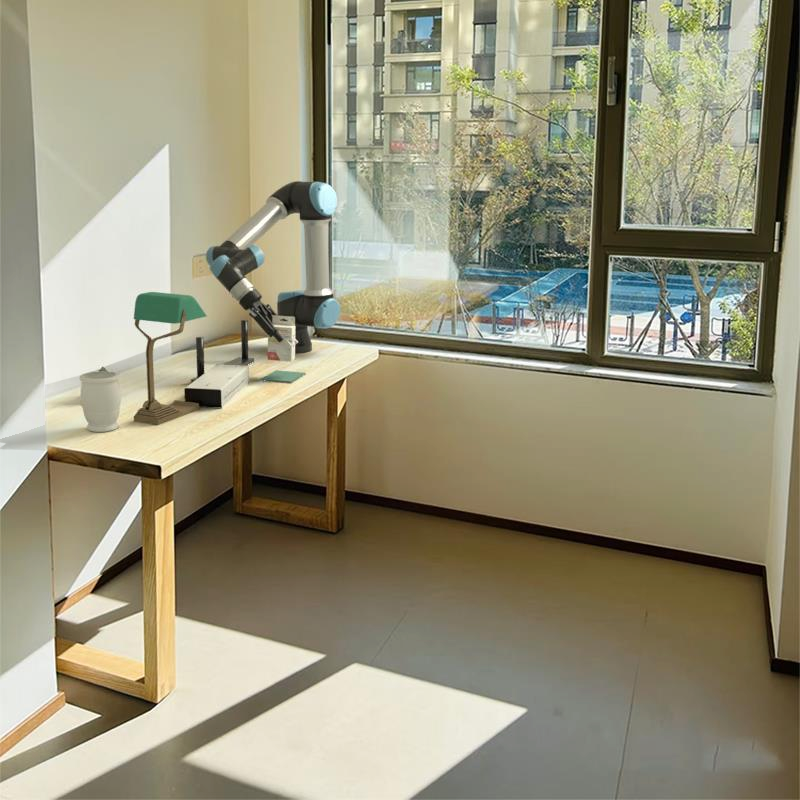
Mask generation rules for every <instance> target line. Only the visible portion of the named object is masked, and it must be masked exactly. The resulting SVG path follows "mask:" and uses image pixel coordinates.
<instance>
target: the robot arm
mask: <svg viewBox="0 0 800 800" xmlns="http://www.w3.org/2000/svg"><path fill="white" fill-rule="evenodd" d="M337 207H338V196H337V193H336V191H335V190H334V188H333V187H332V186H331V185H330V184H328V183H326V182H321V181H297V180H296V181H291V182H289V183H287V184H285V185H283V186H281V187H280V188H279V189H277V190H275V191H274V192H273V193H272V194H271V195H269V197H267V199H266V200H265V204H264V205H263V206H262V207H260V209H259V210H257V211H256V212H255V213H254V214H253V215H252V216H251V217H250V218H249V219H248V220H247V221H246V222H245V223H244V224H242V225H241V226H240V227H239V228H238V229H236V230H235V232H233V233H232V234H231V235H230V236H229V237H228V238H227V239H226V240H224V241H223V242H222V243H221V244H220V245H214V246H210V247H209V248H208V249H207V251H206V253H205V260H206V262H207V264H208V265H209V271H210V273H212V275H213V276H214V277H215V279H216V280H218V282H219V283H220V284H221V285H222V286H223V288H225V289H226V290H227V291H228V293H229V294H230V295H231V297H232V298H233V299H235V301H237V302H238V304H239V305H240V306H241V307H242V309H243V310H244V311H249V310H250V312H249V313H248V315H249V316H250V317H251V318H252V319H253V320H255V322H256V323H257V324H258V326H260V328H261V329H262V330H263V331H264V332H265V333H266V334H267V336H268V335H270V336H269V337H272V336H273V337H274V338H275V339H276V340H277V341H278V342H279V344H280V345H281V346H282V347H283V348H284V349H285V350H288V349H289V348H290V347H291V346H292V345H291V343H290V342H289V341H288V340H287V339H286V338H285V337H284V336H283V334H282V333H281V332H280V331H278V332H277V329H276V328H275V327H274V325H273V324H272V316H273V315H274V316H289V317H295V354H296V353H297V354H300V353H301V354H302V353H308V352H310V351H313V343H312V340H311V337H310V333H309V331H308V327H312V328H315V329H330V328H332V327H333V326H335V324H336V323H337V322H338V320H339V318H340V314H341V305H340V303H339V301H338V300H337V299H335V298H334V291H333V290H332V289H331V288H330V273H329V271H330V270H329V269H330V267H329V242H328V241H329V238H328V237H329V236H328V235H329V234H328V232H329V231H328V223H330V222H331V220H332V215H333V214H334V213H335V212H336V209H337ZM293 214H299V221H301V223H302V224H303V228H304V229H303V230H304V234H303V235H304V256H305V257H304V258H305V261H304V262H305V280H306V281H305V283H306V288H305V289H302V290H290V291H281V292H279V293H278V295H277V302H276V304H277V305H276V306H277V307H276V308H277V313H276V312H275V310H274V309H273V308H272V306H271V305H270V304H269V303H267V304H265V303H263V301H261V300H262V297H263V296H262V294H261V293H260V292H259V291H258V289H256V288H254V287H255V286H254V285H253V284H252V282H250V280H249V279H248V278H247V277H246V276H247V275H248V274H250V273H251V272H253V271H255V270H256V269H258V268H259V267H261V266H262V265H263V264H264V263H265V258H266V257H265V254H264V252H263V250H262V248H261V247H259V246H257V245H256V244H255V243H256V242H257V241H258V240H259V239H260V238H262V237H263V236H264V235H265V234H266V233H267V232H268V231H270V229H271V228H272V227H273V226H274V225H276V223H278V222H280V220H285V219H286V218H287V217H289V216H290V215H293ZM280 321H288V320H285V319H280Z"/></svg>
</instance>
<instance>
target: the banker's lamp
mask: <svg viewBox="0 0 800 800" xmlns="http://www.w3.org/2000/svg"><path fill="white" fill-rule="evenodd" d="M206 317H208V315H207V314H206V312H205V310H204V309H203V308H202V307H201V305H200V304H199V302H198V300H197V299H196V298H195V297H193V296H192V295H187V294H177V293H170V292H169V293H168V292H158V291H157V292H155V291H149V292H148V291H147V292H143V293H139V294H138V295H137V296H136V298H135V302H134V313H133V320H134V326H135V328H136V329H137V330H138V331H139V332H140V333H141V334H142V335H143V336H144V337H145V338H146V339H147V342H146V346H145V347H146V349H145V359H146V360H145V361H146V381H147V383H146V384H147V400H145V401H144V402H143V404H142V407H141V408H139V409H137V412H135V414H134V415H133V422H135V423H136V422H137V423H141V424H142V423H143V424H149V425H155V426H161V425H163V424H166V423H168V422H170V421H173V420H175V419H178V418H180V417H183V416H186V415H188V414H190V413H194V412H196V411H199V410H200V407H199V403H192V402H185V400H184V401H183V400H176V399H174V400H173V402H172V403H169V404H164V403H163V404H162V403H161V402H159V401H158V400H157V399H155V398H156V397H155V372H154V345H155V343H156V342H157V341H158V340H161V339H162V340H163V339H165V338H169V337H172V336H176V335H180V334H181V333H183V331H184V329H185V328H184V327H185V323H186V322H189V321H194V320H198V319H201V318H206ZM140 321H147V322H148V321H149V322H156V323H157V322H158V323H166V324H172V325H173V324H174V325H175V324H179V327H178V329H176V330H175V331H172V332H169V333H165V334H163V335H159V336H156V337H154V338H152V337H151V336H149V334H147V333H146V332H145V331H143V330H142V329H141V328H140V326H139V325H140ZM198 409H199V410H198Z"/></svg>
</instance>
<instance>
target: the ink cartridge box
mask: <svg viewBox="0 0 800 800" xmlns="http://www.w3.org/2000/svg"><path fill="white" fill-rule="evenodd" d="M280 319H285V320H288V321H280ZM272 324H273V325H274V327H275V328H276V329H277V332H278V331H280V332H281V333H282V334H283V336H284V337H285V338H286V339H287V340H288V341H289V342H290V343H291V345H292V346H291V347H290V348H289V349H288V350H285V349H284V348H283V347H282V346H281V345H280V344H279V342H278V341H277V340H276V339H275V338H274V337H273V336H272V337H269V336H270V335H267V361H279V362H292V361H294V360H295V359H296V353H295V317H289V316H274V315H273V316H272Z"/></svg>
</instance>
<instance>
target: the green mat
mask: <svg viewBox="0 0 800 800" xmlns="http://www.w3.org/2000/svg"><path fill="white" fill-rule="evenodd" d="M303 375H304V376H306V372H302V371H301V372H300V371H291V370H290V371H289V370H277V369H276V370H274V371H272V372H271V373H268V374H266V375H265V376H263V377H261V378H260V381H261V380H265V381H264V382H271V381H278V382H277V383H283V382H287V383H286V384H292V383H294V382H296V381H297V380H299V379H300V377H301V378H303ZM295 380H296V381H295Z"/></svg>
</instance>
